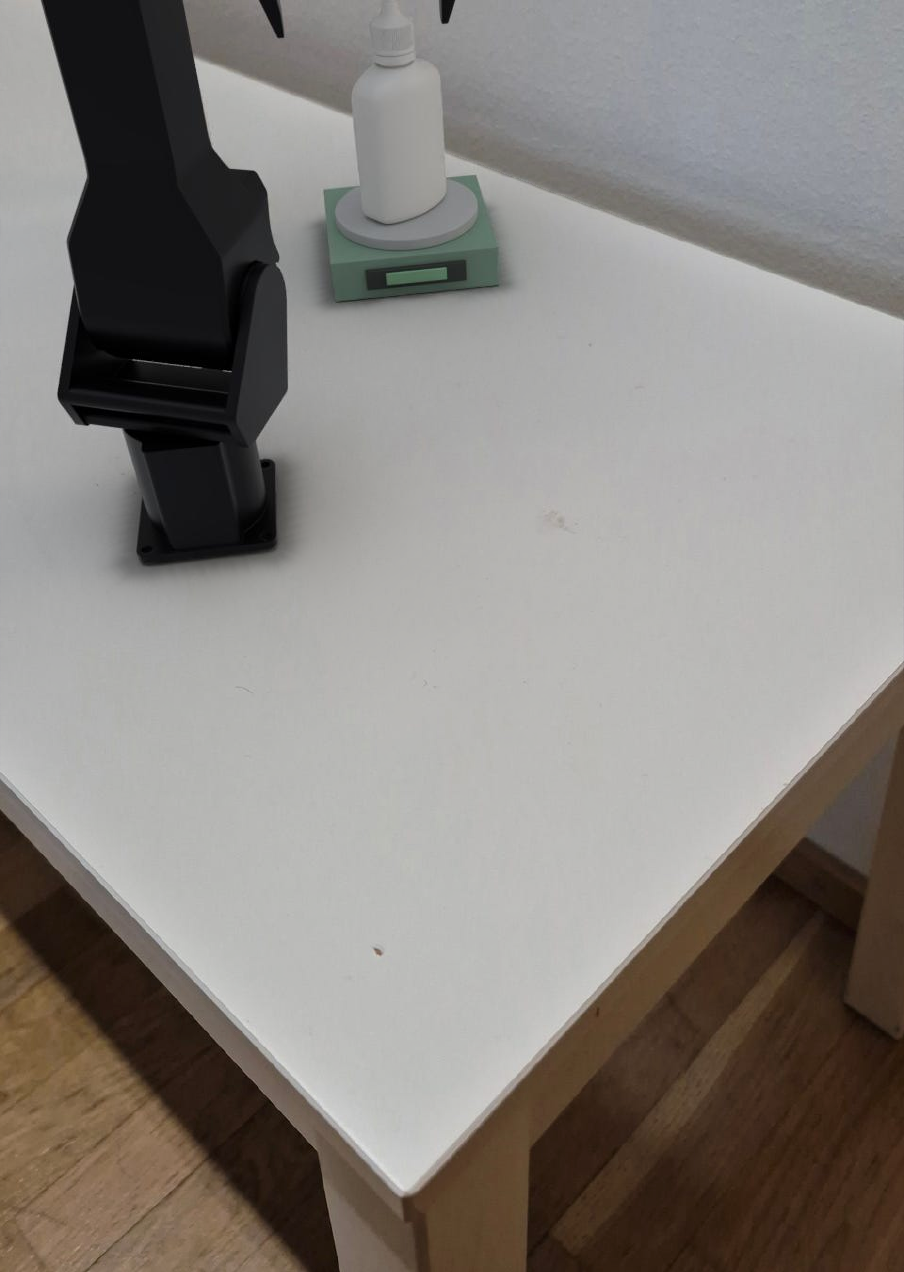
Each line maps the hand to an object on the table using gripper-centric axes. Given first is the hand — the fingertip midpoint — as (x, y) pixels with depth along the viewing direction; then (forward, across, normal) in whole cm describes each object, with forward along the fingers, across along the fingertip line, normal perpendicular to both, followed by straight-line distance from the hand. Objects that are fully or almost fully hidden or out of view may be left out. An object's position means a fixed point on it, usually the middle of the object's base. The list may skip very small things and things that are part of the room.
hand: (362, 28), depth 65 cm
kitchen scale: (+13, -2, +1) cm, 13 cm away
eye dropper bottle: (+10, -2, +2) cm, 10 cm away
